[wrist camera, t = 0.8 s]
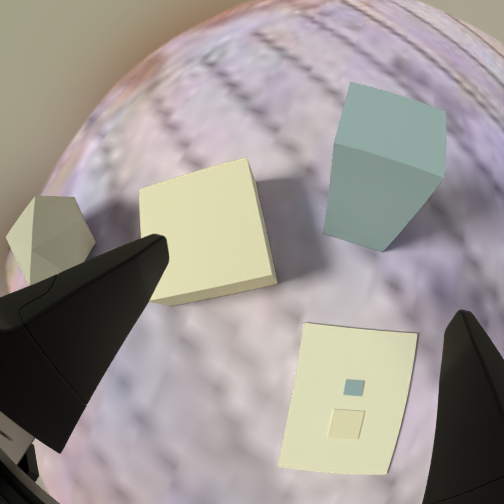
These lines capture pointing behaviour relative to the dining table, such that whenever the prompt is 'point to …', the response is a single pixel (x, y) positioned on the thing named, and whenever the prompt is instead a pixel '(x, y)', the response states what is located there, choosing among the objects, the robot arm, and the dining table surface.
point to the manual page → (347, 400)
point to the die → (50, 237)
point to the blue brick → (382, 165)
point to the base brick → (209, 233)
